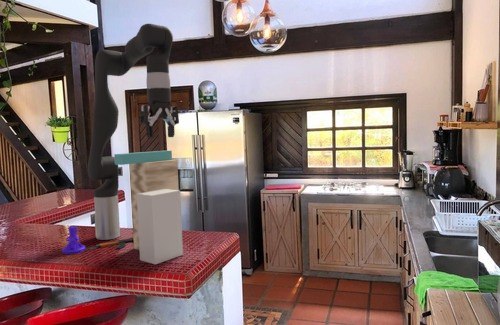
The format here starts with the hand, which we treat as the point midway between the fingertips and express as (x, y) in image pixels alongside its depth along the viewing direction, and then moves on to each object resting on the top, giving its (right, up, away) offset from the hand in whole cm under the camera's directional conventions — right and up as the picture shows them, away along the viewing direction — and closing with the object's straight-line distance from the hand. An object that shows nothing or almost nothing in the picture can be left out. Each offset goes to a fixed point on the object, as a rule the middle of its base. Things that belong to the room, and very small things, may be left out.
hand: (160, 137), depth 131 cm
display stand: (-5, -40, +19) cm, 44 cm away
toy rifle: (-20, -41, +21) cm, 50 cm away
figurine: (-35, -41, +16) cm, 56 cm away
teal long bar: (-9, -8, +13) cm, 17 cm away
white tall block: (-1, -41, +5) cm, 41 cm away
